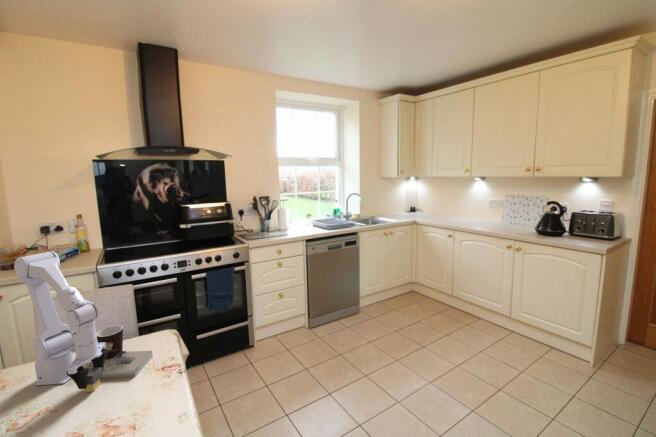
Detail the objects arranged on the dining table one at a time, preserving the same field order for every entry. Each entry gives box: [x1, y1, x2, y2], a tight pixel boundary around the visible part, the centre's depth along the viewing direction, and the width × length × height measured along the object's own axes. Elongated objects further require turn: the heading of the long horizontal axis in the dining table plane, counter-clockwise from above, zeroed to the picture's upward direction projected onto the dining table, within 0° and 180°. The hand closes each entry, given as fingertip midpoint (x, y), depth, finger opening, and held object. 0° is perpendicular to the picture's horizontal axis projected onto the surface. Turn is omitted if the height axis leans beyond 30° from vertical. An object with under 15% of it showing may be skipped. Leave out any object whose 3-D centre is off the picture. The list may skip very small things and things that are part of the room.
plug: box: [83, 367, 103, 393], centre depth 101 cm, size 4×4×6 cm
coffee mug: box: [96, 324, 124, 361], centre depth 120 cm, size 12×9×10 cm
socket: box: [99, 350, 154, 380], centre depth 112 cm, size 12×12×3 cm
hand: (91, 380), depth 101 cm, fingers open, 7 cm apart
